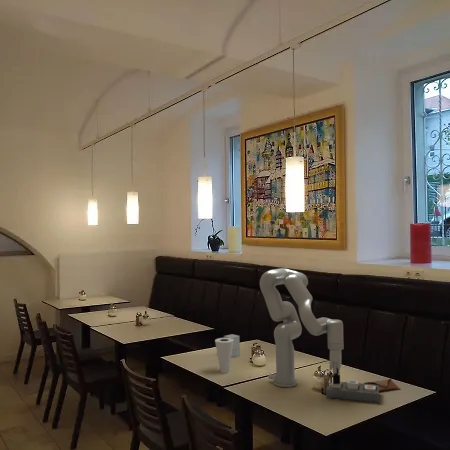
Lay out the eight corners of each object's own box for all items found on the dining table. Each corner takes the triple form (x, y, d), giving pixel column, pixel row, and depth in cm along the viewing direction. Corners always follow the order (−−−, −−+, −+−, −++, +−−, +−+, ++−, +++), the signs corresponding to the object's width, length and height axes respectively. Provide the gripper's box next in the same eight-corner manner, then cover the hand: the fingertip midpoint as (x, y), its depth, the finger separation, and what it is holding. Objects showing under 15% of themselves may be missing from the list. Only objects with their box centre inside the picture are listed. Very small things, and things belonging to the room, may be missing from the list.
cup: (234, 369, 290) (234, 337, 290) (233, 374, 279) (232, 342, 279) (216, 368, 291) (216, 337, 291) (214, 374, 280) (213, 342, 280)
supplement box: (232, 353, 324) (232, 333, 323) (240, 355, 318) (239, 335, 318) (223, 355, 319) (223, 335, 319) (231, 358, 313) (230, 337, 313)
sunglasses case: (372, 394, 245) (368, 380, 248) (365, 397, 251) (360, 384, 254) (402, 389, 252) (397, 375, 255) (394, 392, 257) (389, 379, 260)
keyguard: (326, 398, 240) (326, 389, 240) (329, 389, 253) (329, 380, 253) (378, 403, 233) (378, 393, 233) (379, 394, 245) (379, 384, 245)
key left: (330, 392, 244) (330, 384, 244) (331, 389, 249) (331, 380, 249) (340, 393, 242) (340, 385, 242) (341, 390, 247) (341, 381, 247)
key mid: (347, 391, 241) (347, 382, 241) (348, 388, 246) (347, 379, 246) (357, 392, 240) (357, 383, 240) (358, 388, 245) (358, 380, 244)
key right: (364, 396, 239) (364, 388, 239) (365, 393, 244) (364, 384, 244) (375, 397, 237) (375, 388, 237) (375, 394, 242) (375, 385, 242)
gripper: (329, 341, 253) (330, 377, 253) (326, 348, 239) (327, 387, 239) (344, 342, 251) (345, 378, 251) (342, 349, 237) (343, 388, 237)
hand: (336, 382), depth 245 cm, fingers closed
